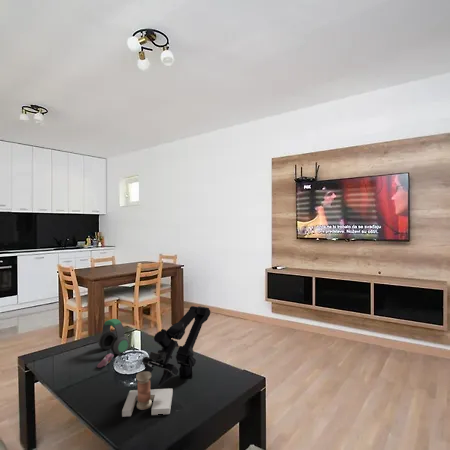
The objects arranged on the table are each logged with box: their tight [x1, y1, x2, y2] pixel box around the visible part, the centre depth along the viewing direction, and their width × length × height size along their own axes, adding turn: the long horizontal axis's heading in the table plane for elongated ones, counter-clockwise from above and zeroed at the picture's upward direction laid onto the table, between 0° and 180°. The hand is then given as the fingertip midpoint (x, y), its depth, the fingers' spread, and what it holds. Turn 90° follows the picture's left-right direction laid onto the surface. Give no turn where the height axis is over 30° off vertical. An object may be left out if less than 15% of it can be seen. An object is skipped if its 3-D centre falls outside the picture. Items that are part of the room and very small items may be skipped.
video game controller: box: [96, 352, 115, 369], centre depth 184 cm, size 10×5×7 cm, turn 170°
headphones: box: [97, 318, 130, 355], centre depth 202 cm, size 19×11×20 cm, turn 55°
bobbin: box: [135, 370, 153, 411], centre depth 144 cm, size 7×7×14 cm
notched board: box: [121, 388, 174, 418], centre depth 145 cm, size 20×16×2 cm
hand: (151, 383), depth 148 cm, fingers open, 9 cm apart
